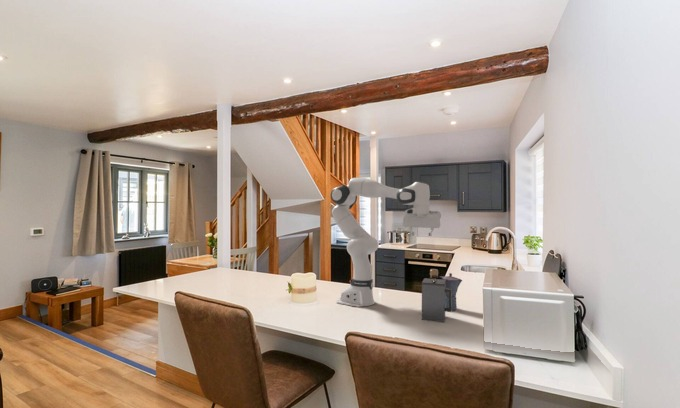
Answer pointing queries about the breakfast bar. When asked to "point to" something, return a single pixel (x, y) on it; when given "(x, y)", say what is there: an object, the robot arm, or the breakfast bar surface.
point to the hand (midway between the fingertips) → (421, 235)
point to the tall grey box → (435, 300)
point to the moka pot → (452, 284)
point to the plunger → (433, 274)
